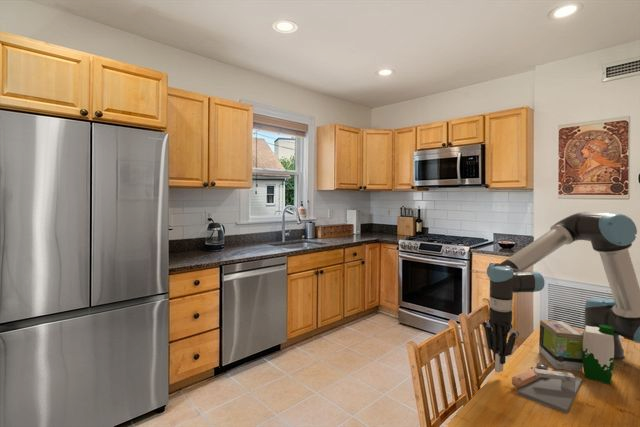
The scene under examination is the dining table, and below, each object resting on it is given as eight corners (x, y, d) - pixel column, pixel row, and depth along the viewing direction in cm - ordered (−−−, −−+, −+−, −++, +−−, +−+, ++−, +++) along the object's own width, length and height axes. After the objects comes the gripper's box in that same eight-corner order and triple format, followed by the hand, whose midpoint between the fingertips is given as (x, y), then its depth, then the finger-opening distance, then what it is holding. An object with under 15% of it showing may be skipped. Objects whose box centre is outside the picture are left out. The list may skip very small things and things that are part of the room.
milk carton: (613, 386, 118) (615, 332, 117) (581, 378, 124) (583, 325, 123) (612, 376, 125) (614, 324, 124) (581, 368, 131) (583, 319, 130)
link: (538, 368, 128) (538, 363, 128) (553, 374, 124) (553, 369, 124) (507, 382, 119) (507, 376, 119) (521, 389, 114) (521, 384, 114)
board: (537, 367, 132) (537, 364, 132) (581, 381, 122) (582, 378, 122) (517, 394, 114) (517, 390, 114) (567, 413, 104) (567, 409, 104)
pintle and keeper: (539, 370, 127) (539, 357, 127) (581, 388, 115) (582, 374, 115) (520, 379, 121) (520, 365, 121) (562, 399, 109) (562, 384, 109)
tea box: (583, 372, 129) (585, 334, 128) (554, 369, 131) (556, 332, 130) (563, 354, 143) (564, 320, 143) (538, 352, 145) (539, 318, 145)
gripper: (478, 305, 127) (477, 365, 128) (511, 316, 115) (510, 381, 116) (490, 302, 130) (489, 360, 131) (524, 312, 119) (522, 376, 120)
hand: (499, 370), depth 124 cm, fingers closed
